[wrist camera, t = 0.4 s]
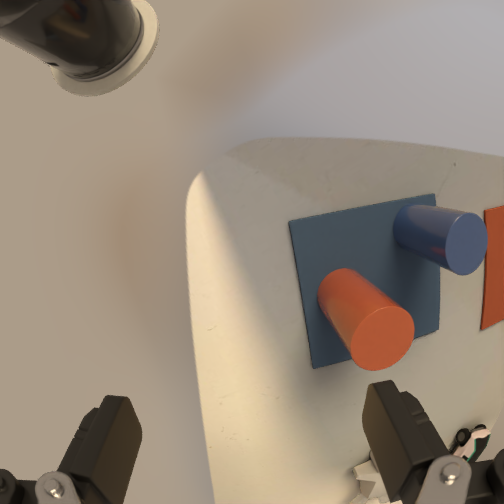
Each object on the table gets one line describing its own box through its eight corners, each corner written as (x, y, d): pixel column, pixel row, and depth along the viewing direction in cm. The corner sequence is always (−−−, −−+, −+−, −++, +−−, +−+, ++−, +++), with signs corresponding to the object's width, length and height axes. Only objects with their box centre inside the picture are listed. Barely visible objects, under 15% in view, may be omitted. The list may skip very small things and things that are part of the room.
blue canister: (390, 207, 28) (443, 218, 20) (429, 199, 28) (486, 208, 20) (395, 256, 29) (445, 282, 21) (433, 246, 29) (487, 267, 21)
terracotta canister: (313, 274, 29) (347, 317, 20) (363, 262, 29) (414, 298, 20) (320, 323, 31) (352, 379, 21) (368, 310, 31) (413, 358, 21)
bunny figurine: (425, 446, 32) (399, 507, 33) (411, 428, 37) (389, 488, 39) (366, 462, 32) (346, 521, 33) (354, 440, 37) (339, 500, 38)
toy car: (482, 419, 37) (497, 436, 32) (451, 464, 40) (463, 481, 35) (462, 424, 37) (477, 442, 32) (430, 470, 39) (441, 488, 34)
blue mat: (288, 221, 29) (289, 221, 28) (432, 193, 29) (434, 193, 28) (312, 367, 32) (313, 369, 32) (437, 328, 32) (438, 329, 32)
